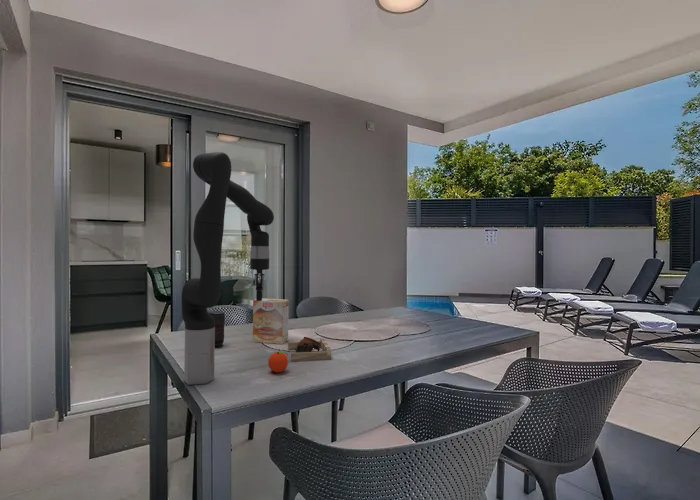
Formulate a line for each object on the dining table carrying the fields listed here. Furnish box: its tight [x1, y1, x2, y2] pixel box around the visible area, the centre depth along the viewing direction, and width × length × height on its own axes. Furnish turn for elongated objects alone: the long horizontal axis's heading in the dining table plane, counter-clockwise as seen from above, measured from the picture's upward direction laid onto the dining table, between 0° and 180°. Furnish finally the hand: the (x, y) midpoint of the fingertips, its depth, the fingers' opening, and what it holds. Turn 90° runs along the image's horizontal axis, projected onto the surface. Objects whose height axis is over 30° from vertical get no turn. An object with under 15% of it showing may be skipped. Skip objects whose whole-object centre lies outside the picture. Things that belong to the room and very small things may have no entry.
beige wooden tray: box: [287, 338, 332, 362], centre depth 159 cm, size 18×16×4 cm
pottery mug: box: [295, 336, 320, 353], centre depth 158 cm, size 12×10×8 cm
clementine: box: [267, 351, 289, 373], centre depth 137 cm, size 8×7×7 cm
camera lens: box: [208, 310, 226, 349], centre depth 169 cm, size 8×8×15 cm
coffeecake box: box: [252, 297, 290, 345], centre depth 179 cm, size 15×7×20 cm, turn 76°
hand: (259, 300), depth 156 cm, fingers closed
